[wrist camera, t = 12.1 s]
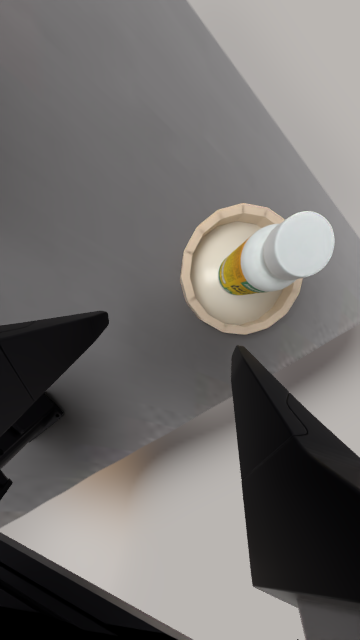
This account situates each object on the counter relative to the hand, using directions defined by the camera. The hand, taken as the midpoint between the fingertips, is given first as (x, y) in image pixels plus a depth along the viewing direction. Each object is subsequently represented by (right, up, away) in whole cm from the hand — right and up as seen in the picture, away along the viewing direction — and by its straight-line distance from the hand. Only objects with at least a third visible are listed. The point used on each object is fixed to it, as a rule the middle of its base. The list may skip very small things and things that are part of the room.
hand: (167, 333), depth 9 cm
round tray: (+8, +7, +10) cm, 15 cm away
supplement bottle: (+8, +7, +9) cm, 14 cm away
